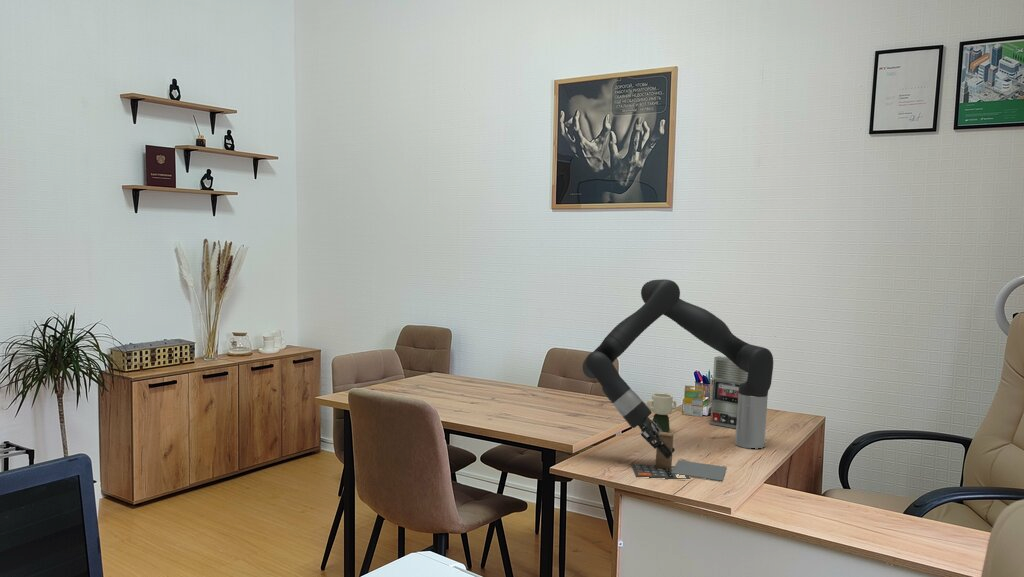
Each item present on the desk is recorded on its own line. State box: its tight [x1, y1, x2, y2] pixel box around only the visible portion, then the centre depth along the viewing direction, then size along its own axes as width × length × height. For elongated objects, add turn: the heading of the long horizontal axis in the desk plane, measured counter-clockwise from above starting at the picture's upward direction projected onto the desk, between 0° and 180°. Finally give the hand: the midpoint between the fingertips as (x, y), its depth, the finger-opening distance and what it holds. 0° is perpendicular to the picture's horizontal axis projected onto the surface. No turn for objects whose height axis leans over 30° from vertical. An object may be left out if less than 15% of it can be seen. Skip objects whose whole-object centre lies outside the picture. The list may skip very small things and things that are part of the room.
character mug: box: [646, 392, 677, 433], centre depth 254 cm, size 11×7×13 cm, turn 103°
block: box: [655, 432, 674, 469], centre depth 211 cm, size 4×4×10 cm
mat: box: [671, 459, 727, 482], centre depth 209 cm, size 14×14×1 cm
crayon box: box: [682, 385, 705, 417], centre depth 283 cm, size 7×3×12 cm, turn 77°
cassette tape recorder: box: [708, 355, 748, 429], centre depth 266 cm, size 14×6×25 cm, turn 55°
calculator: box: [631, 463, 691, 480], centre depth 206 cm, size 12×1×15 cm
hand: (671, 454), depth 210 cm, fingers closed on block, 4 cm apart
